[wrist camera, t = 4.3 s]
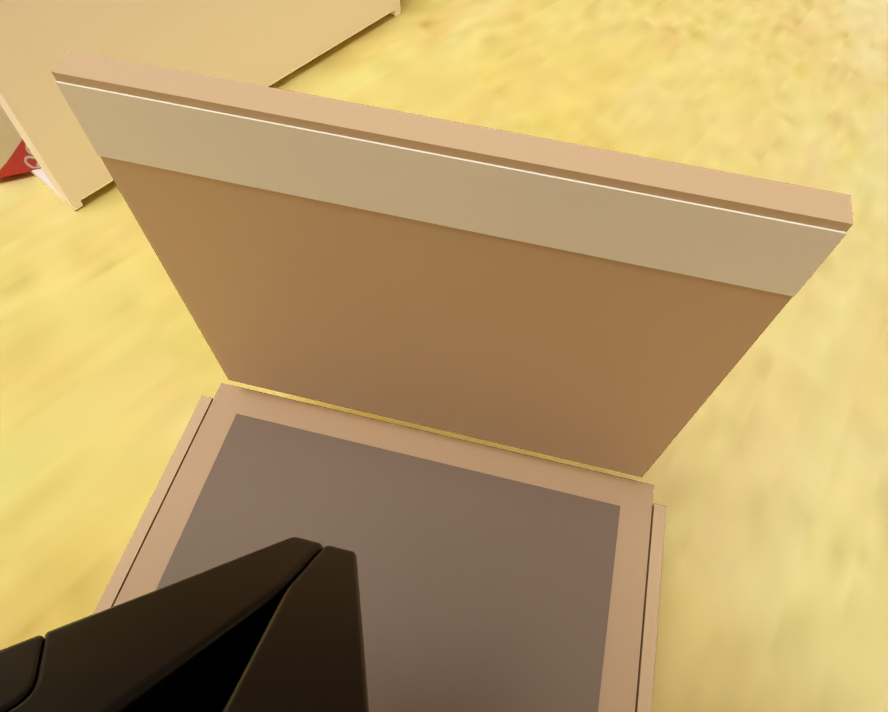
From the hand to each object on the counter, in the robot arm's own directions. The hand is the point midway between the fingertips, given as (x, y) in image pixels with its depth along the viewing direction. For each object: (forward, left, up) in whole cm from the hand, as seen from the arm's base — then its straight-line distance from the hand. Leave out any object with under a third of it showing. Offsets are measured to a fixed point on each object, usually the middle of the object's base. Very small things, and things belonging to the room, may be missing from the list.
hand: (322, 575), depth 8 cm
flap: (+4, -4, -2) cm, 6 cm away
